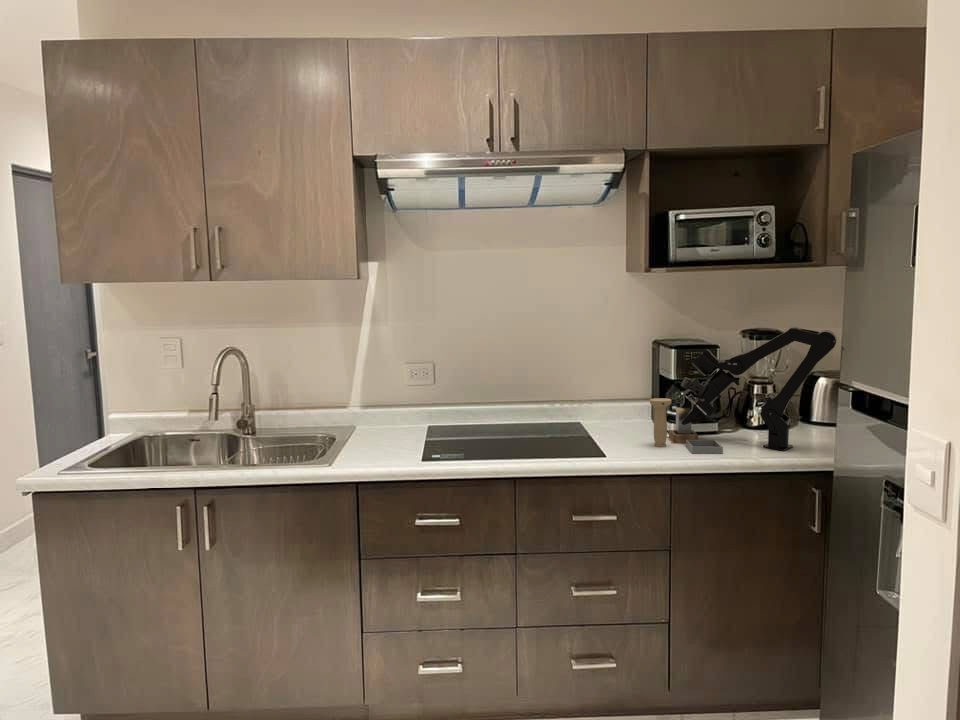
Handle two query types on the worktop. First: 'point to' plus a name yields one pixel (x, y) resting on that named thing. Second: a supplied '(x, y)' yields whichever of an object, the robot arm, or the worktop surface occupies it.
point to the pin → (680, 416)
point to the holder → (681, 437)
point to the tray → (704, 447)
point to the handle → (660, 420)
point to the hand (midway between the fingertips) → (679, 420)
